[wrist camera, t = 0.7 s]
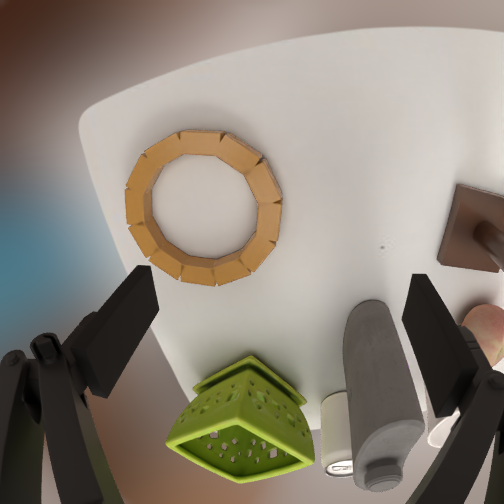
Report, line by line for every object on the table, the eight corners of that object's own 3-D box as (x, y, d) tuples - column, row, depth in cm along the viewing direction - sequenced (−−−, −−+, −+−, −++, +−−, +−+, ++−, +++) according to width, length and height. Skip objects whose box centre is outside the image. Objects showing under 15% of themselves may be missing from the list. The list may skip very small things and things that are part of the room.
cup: (480, 347, 37) (508, 401, 27) (450, 392, 42) (468, 445, 32) (429, 343, 38) (453, 404, 28) (400, 391, 42) (414, 449, 32)
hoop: (133, 129, 31) (123, 131, 29) (289, 136, 30) (288, 138, 28) (139, 265, 38) (131, 273, 36) (272, 283, 37) (271, 294, 35)
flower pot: (186, 376, 46) (160, 444, 34) (253, 335, 40) (237, 415, 29) (250, 422, 49) (238, 487, 37) (318, 391, 44) (319, 465, 32)
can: (360, 413, 45) (367, 476, 34) (320, 416, 46) (320, 480, 35) (364, 388, 42) (373, 456, 32) (320, 391, 44) (321, 461, 33)
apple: (468, 346, 37) (488, 385, 30) (440, 326, 36) (460, 368, 29) (505, 307, 34) (531, 342, 27) (480, 282, 33) (508, 319, 26)
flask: (342, 301, 36) (363, 454, 19) (390, 296, 35) (438, 441, 18) (341, 386, 43) (348, 512, 25) (380, 381, 42) (400, 505, 24)
